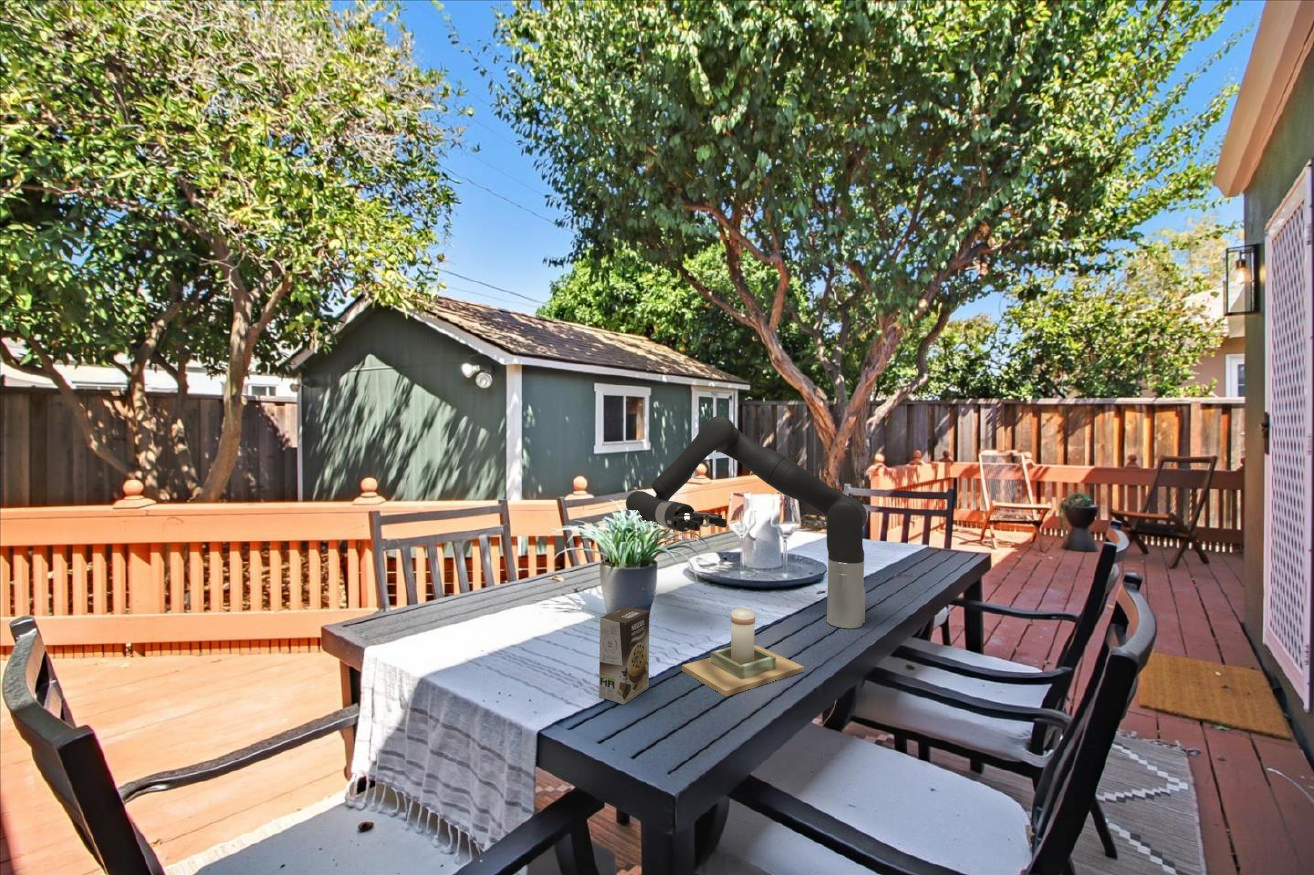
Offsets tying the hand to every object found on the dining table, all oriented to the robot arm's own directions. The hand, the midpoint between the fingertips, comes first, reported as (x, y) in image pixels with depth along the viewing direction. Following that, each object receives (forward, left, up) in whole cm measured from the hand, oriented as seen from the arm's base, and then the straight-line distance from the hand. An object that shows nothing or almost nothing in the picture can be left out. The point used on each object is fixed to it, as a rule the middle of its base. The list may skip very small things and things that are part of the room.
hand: (712, 525), depth 160 cm
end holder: (+8, +21, -28) cm, 36 cm away
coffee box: (+35, +16, -28) cm, 48 cm away
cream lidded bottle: (+8, +21, -27) cm, 35 cm away
